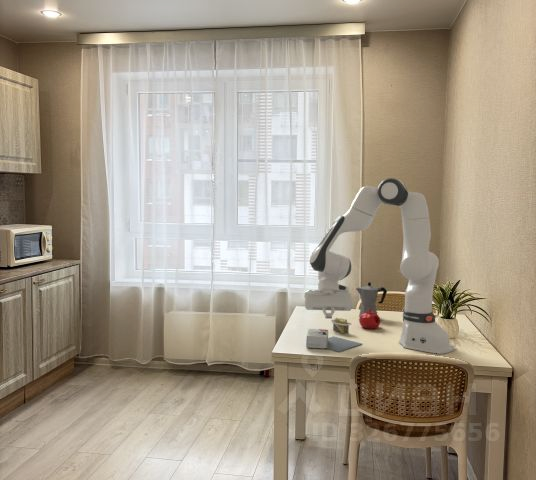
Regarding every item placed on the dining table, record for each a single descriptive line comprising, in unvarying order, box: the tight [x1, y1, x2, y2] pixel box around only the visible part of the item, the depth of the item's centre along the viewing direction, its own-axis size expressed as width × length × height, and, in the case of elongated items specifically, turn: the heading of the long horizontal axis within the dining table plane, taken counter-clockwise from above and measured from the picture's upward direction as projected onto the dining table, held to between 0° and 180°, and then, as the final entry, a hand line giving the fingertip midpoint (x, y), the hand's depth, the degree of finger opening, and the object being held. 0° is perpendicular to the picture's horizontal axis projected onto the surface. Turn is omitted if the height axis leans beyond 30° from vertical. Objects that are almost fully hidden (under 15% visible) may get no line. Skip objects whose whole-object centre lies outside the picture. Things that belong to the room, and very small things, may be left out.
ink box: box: [305, 328, 329, 349], centre depth 228 cm, size 9×5×12 cm
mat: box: [326, 335, 363, 353], centre depth 229 cm, size 15×16×1 cm
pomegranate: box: [358, 308, 382, 330], centre depth 258 cm, size 10×10×9 cm
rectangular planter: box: [330, 317, 352, 334], centre depth 249 cm, size 12×18×7 cm, turn 51°
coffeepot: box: [355, 281, 388, 318], centre depth 277 cm, size 15×9×18 cm, turn 87°
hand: (328, 317), depth 233 cm, fingers closed
